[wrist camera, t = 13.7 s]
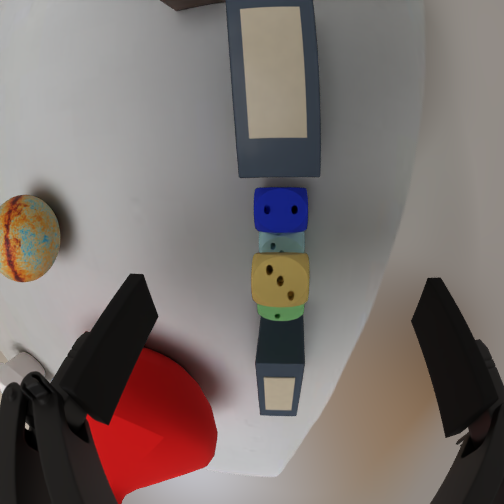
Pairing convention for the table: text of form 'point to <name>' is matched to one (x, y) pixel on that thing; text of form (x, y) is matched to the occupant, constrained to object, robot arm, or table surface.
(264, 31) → the blue block
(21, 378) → the potted plant
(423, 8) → the table surface
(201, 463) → the vase
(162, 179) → the table surface
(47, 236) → the ball
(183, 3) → the brown paneled block
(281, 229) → the dice
